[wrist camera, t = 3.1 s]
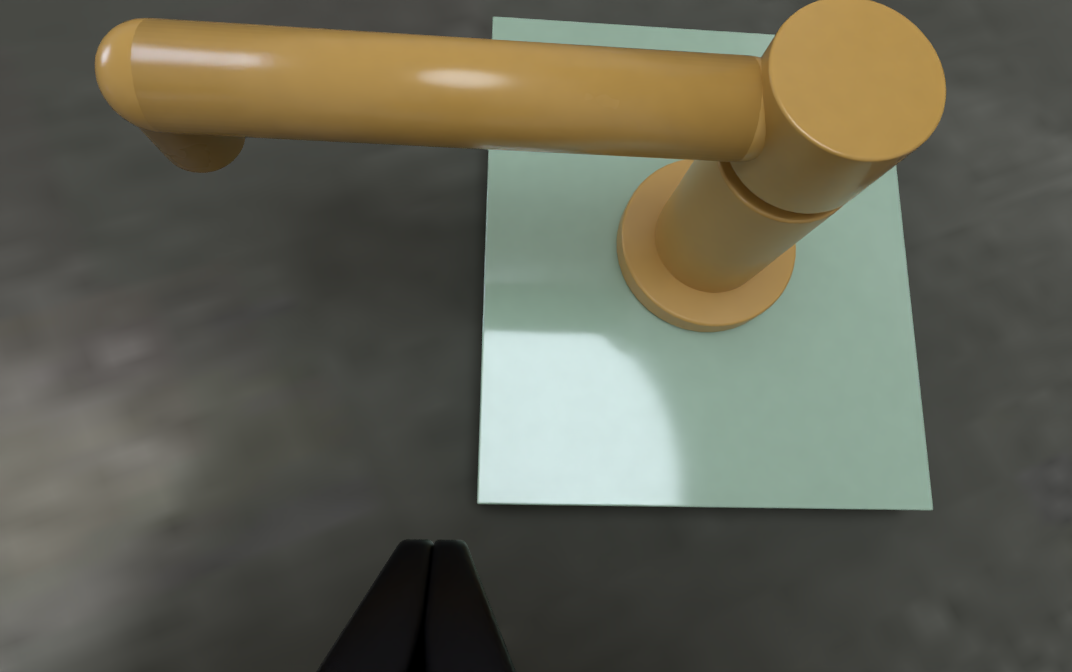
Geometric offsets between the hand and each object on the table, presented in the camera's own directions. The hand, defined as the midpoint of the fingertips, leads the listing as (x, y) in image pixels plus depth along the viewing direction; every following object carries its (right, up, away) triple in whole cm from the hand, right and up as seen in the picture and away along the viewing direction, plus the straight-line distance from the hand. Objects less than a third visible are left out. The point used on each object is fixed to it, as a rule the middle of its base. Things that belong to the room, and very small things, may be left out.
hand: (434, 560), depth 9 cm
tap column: (+6, +5, +10) cm, 13 cm away
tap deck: (+6, +5, +12) cm, 14 cm away
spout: (+1, +7, +5) cm, 8 cm away
